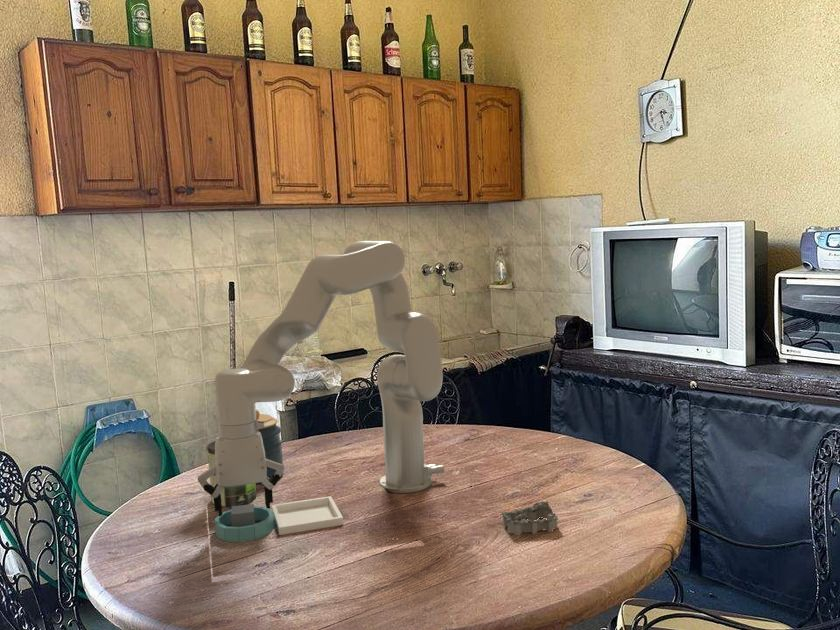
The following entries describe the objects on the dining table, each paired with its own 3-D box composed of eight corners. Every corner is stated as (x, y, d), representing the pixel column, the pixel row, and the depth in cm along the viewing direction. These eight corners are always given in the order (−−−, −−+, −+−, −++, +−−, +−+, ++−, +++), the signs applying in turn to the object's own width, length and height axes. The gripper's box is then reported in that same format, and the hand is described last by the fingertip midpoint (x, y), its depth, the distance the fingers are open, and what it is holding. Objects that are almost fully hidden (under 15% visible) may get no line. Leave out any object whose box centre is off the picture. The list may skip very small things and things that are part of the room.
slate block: (255, 524, 153) (253, 503, 153) (255, 532, 149) (253, 511, 149) (233, 527, 152) (231, 506, 152) (232, 535, 148) (231, 514, 148)
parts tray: (331, 505, 164) (330, 496, 163) (343, 528, 151) (343, 517, 151) (272, 515, 160) (271, 504, 159) (279, 538, 147) (279, 527, 147)
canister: (259, 488, 177) (254, 418, 175) (221, 480, 183) (216, 412, 181) (294, 472, 188) (290, 405, 185) (258, 465, 194) (253, 401, 192)
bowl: (270, 518, 158) (269, 503, 157) (276, 539, 147) (275, 522, 146) (215, 527, 154) (214, 511, 154) (217, 549, 143) (216, 532, 143)
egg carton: (550, 519, 152) (549, 500, 152) (560, 533, 145) (560, 514, 145) (500, 522, 151) (499, 503, 151) (508, 537, 144) (507, 517, 144)
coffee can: (264, 495, 172) (260, 437, 171) (245, 511, 162) (241, 450, 161) (224, 493, 174) (220, 436, 173) (203, 510, 164) (198, 449, 163)
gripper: (278, 420, 154) (284, 497, 156) (193, 430, 149) (200, 510, 151) (283, 429, 147) (288, 510, 149) (194, 440, 142) (201, 523, 144)
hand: (244, 510), depth 150 cm, fingers open, 9 cm apart
